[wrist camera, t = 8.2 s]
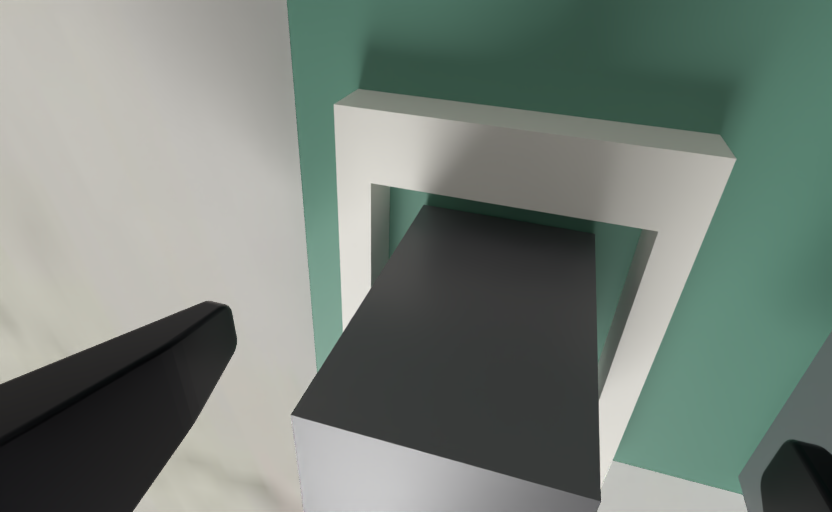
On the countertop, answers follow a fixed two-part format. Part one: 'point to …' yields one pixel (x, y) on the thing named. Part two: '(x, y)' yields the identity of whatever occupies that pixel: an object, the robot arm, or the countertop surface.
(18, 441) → the robot arm
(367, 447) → the plug
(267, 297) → the countertop surface
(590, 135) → the board
